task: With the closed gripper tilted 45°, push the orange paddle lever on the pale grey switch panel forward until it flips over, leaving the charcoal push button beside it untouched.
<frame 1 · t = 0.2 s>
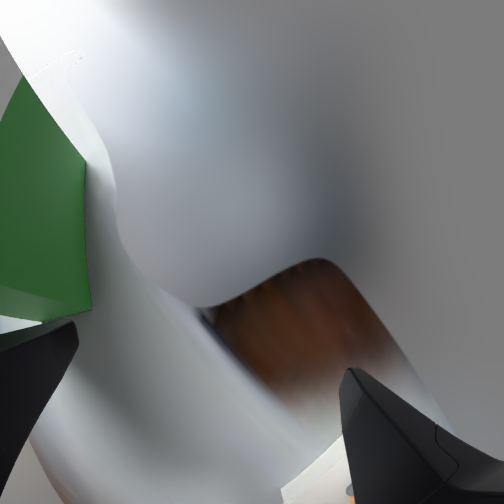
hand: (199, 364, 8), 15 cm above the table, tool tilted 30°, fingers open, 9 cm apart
green boxy piece: (59, 236, 24), on the table
switch panel: (377, 491, 17), on the table
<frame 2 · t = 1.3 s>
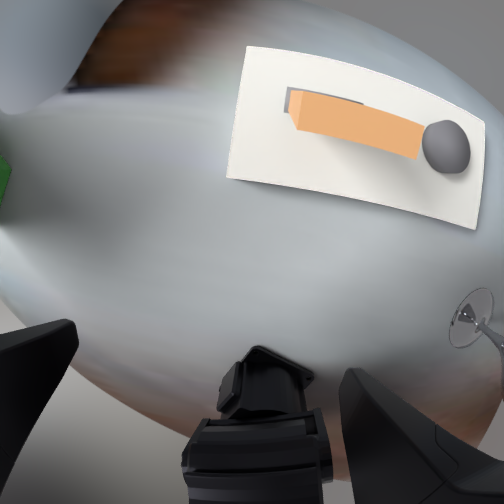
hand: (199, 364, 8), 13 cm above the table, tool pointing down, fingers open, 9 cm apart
paddle lever: (336, 111, 11), point 7 cm above the table, hinge at -20.0°
switch panel: (370, 135, 17), on the table
push button: (447, 147, 14), point 4 cm above the table, slide at 0.0 cm
wine glass: (472, 318, 21), on the table
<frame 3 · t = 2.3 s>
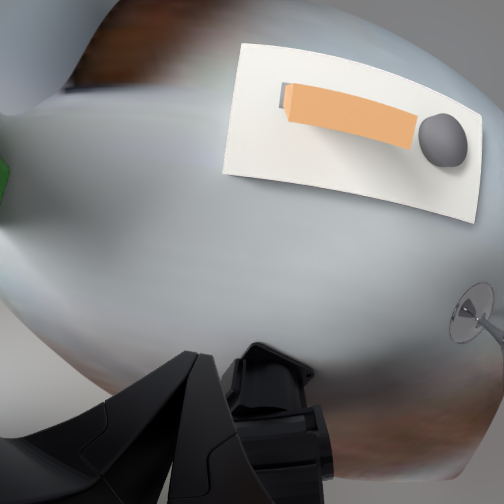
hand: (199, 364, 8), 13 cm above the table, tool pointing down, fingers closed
paddle lever: (330, 105, 10), point 7 cm above the table, hinge at -20.0°
switch panel: (366, 130, 17), on the table
push button: (443, 140, 13), point 4 cm above the table, slide at 0.0 cm
wine glass: (472, 313, 21), on the table
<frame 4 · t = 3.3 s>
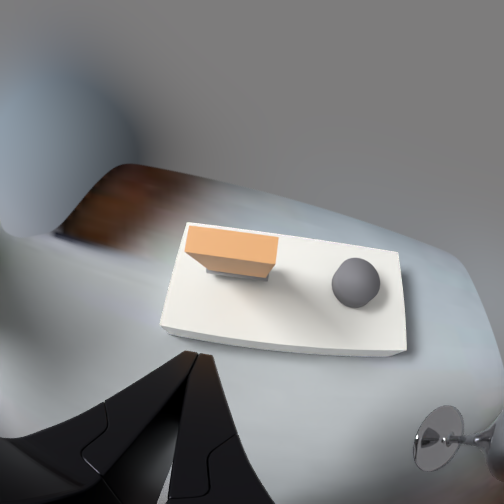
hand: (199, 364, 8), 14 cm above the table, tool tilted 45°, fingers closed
paddle lever: (236, 259, 16), point 7 cm above the table, hinge at -20.0°
switch panel: (290, 294, 23), on the table
push button: (356, 282, 20), point 4 cm above the table, slide at 0.0 cm
wine glass: (439, 438, 16), on the table
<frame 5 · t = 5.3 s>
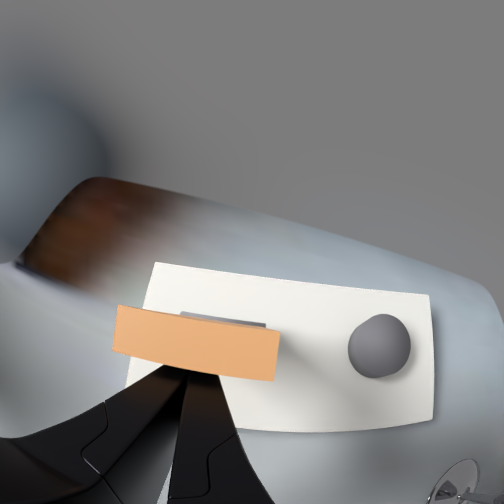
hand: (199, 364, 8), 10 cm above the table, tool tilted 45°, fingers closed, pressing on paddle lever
paddle lever: (213, 336, 10), point 8 cm above the table, hinge at -15.1°, touching gripper
switch panel: (292, 354, 17), on the table
push button: (379, 346, 14), point 4 cm above the table, slide at 0.0 cm
wine glass: (453, 493, 10), on the table
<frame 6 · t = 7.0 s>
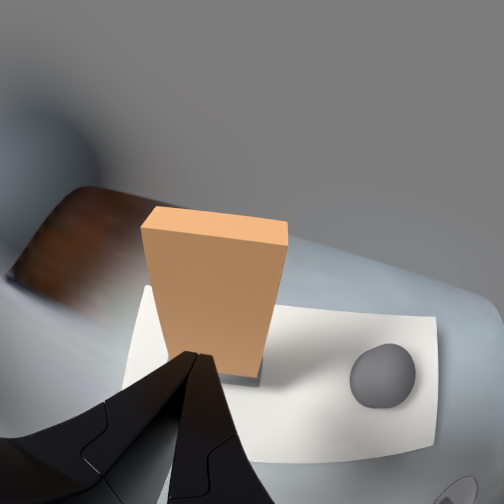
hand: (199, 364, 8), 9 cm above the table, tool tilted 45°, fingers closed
paddle lever: (214, 322, 10), point 7 cm above the table, hinge at 22.9°
switch panel: (290, 380, 16), on the table
push button: (383, 377, 12), point 4 cm above the table, slide at 0.0 cm
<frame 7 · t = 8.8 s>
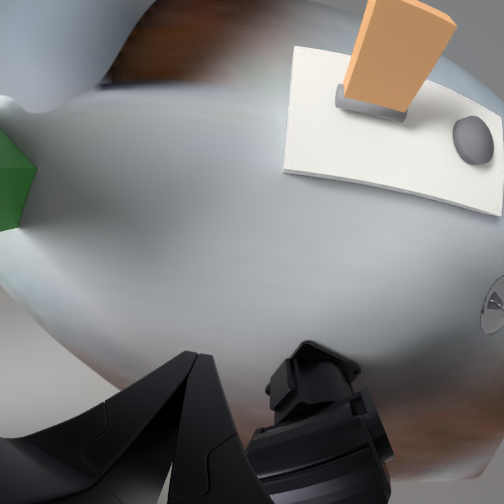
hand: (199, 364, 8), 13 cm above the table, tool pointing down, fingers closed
paddle lever: (390, 63, 10), point 7 cm above the table, hinge at 23.3°
switch panel: (405, 132, 18), on the table
push button: (474, 140, 13), point 4 cm above the table, slide at 0.0 cm
wine glass: (499, 305, 20), on the table
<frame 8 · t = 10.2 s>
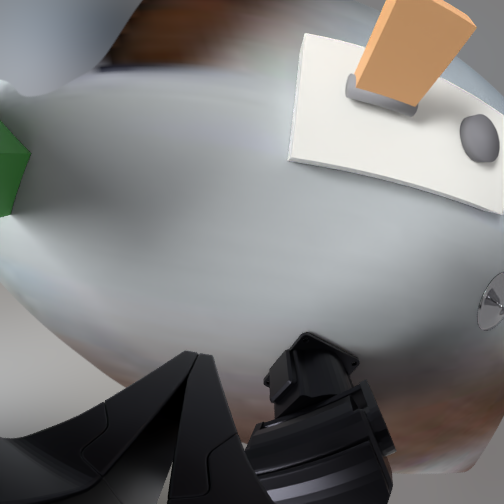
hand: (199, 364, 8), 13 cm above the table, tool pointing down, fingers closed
paddle lever: (405, 57, 9), point 7 cm above the table, hinge at 23.3°
switch panel: (411, 125, 17), on the table
push button: (480, 138, 13), point 4 cm above the table, slide at 0.0 cm
wine glass: (496, 301, 20), on the table
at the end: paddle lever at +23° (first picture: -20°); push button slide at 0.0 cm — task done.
